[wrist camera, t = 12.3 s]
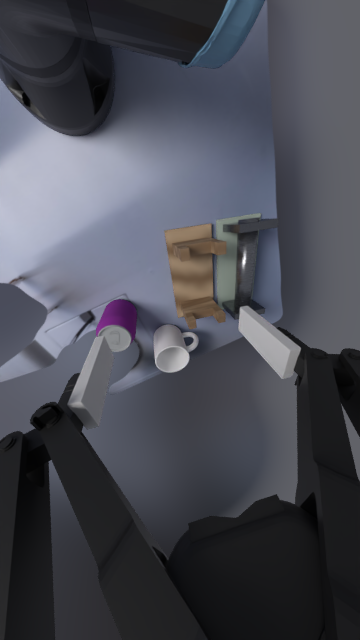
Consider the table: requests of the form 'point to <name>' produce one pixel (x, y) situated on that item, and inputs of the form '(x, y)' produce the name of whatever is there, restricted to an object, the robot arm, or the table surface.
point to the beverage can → (118, 324)
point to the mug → (172, 348)
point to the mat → (228, 260)
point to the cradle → (194, 271)
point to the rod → (246, 262)
